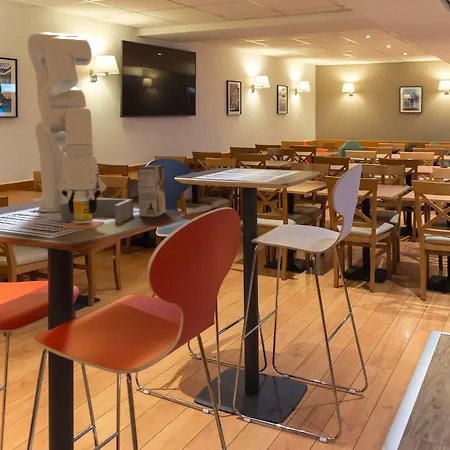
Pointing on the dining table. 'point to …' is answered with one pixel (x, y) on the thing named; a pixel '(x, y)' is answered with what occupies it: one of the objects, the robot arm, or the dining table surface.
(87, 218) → the supplement bottle
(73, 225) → the tile
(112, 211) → the open box
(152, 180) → the coffee box
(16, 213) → the dining table surface
